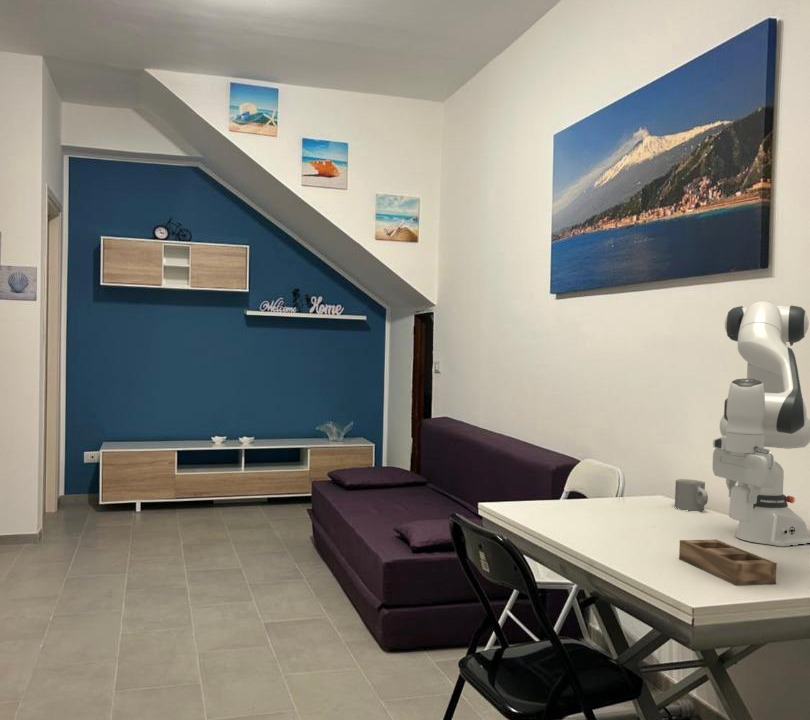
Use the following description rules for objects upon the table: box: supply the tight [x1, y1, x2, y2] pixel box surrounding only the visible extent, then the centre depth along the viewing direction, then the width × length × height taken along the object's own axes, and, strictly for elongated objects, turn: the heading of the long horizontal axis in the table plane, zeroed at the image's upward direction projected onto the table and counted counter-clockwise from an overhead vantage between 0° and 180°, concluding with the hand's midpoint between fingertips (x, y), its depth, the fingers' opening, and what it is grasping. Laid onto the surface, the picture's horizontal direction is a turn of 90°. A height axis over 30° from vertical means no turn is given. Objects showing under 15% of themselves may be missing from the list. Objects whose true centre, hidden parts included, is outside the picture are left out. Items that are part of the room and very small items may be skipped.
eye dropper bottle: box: [728, 482, 753, 522], centre depth 194 cm, size 4×6×12 cm
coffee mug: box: [674, 478, 709, 512], centre depth 282 cm, size 13×10×10 cm
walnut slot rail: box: [678, 539, 778, 586], centre depth 200 cm, size 11×24×5 cm, turn 13°
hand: (742, 500), depth 194 cm, fingers closed on eye dropper bottle, 6 cm apart
